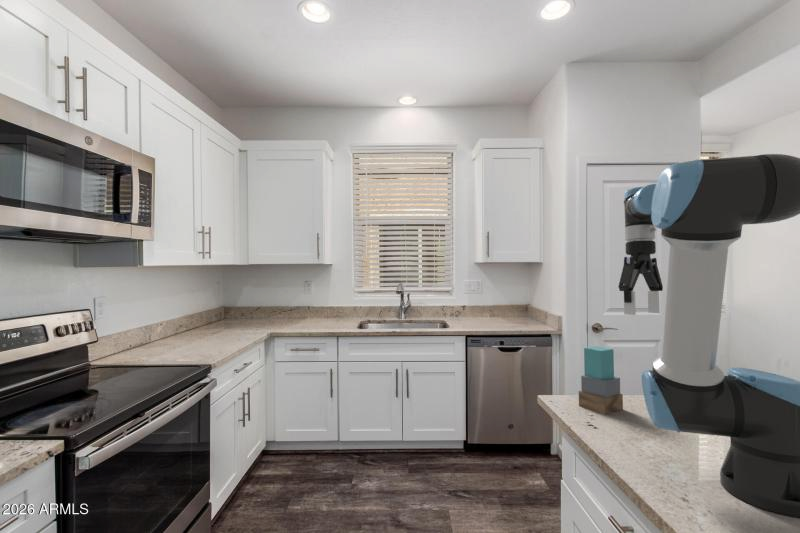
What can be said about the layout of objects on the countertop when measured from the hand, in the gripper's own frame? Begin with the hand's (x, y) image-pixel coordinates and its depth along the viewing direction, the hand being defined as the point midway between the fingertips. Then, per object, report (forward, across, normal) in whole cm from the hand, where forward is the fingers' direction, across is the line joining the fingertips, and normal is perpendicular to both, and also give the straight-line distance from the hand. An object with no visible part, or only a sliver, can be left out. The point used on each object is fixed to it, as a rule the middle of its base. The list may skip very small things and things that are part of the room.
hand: (642, 313), depth 114 cm
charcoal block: (+26, +1, +14) cm, 30 cm away
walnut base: (+31, +1, +14) cm, 34 cm away
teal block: (+21, +1, +14) cm, 25 cm away
